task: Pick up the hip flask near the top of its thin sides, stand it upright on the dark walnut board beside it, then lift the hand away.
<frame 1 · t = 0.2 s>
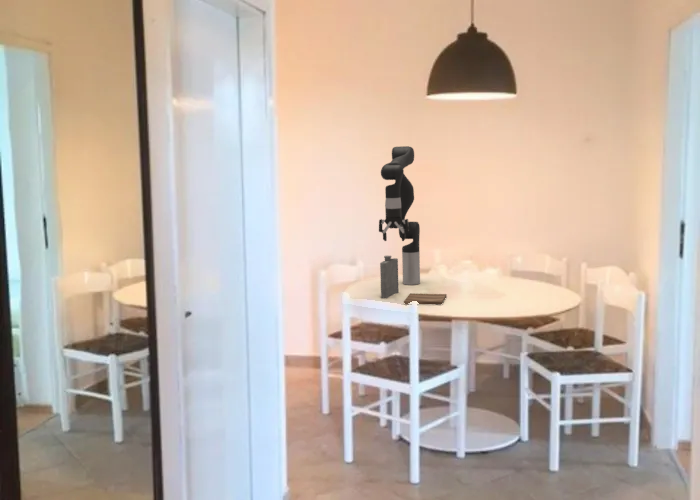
hand: (394, 240, 381), 29 cm above the table, fingers open, 8 cm apart
walnut board: (425, 300, 384), on the table
hip flask: (389, 295, 399), on the table
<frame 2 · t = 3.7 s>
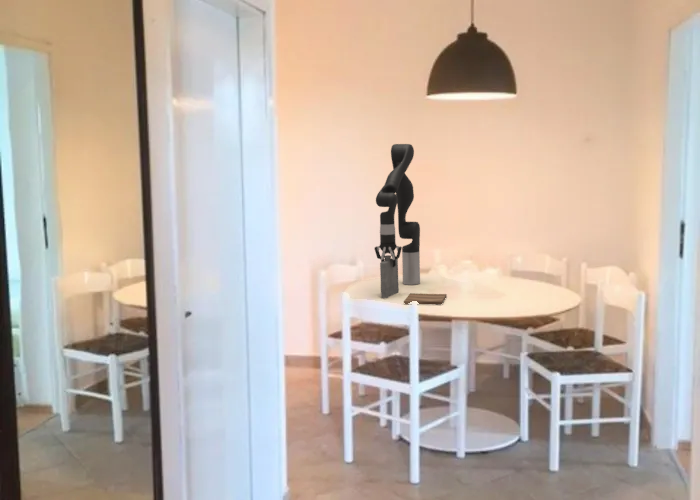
hand: (388, 266, 397), 14 cm above the table, fingers closed on hip flask, 4 cm apart
hip flask: (389, 295, 399), on the table, touching gripper
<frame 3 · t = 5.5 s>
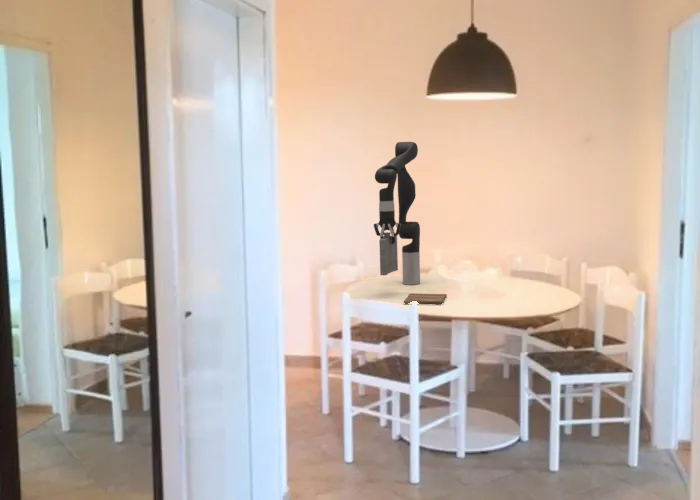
hand: (387, 243, 395), 26 cm above the table, fingers closed on hip flask, 4 cm apart
hip flask: (388, 272, 398), point 11 cm above the table, touching gripper
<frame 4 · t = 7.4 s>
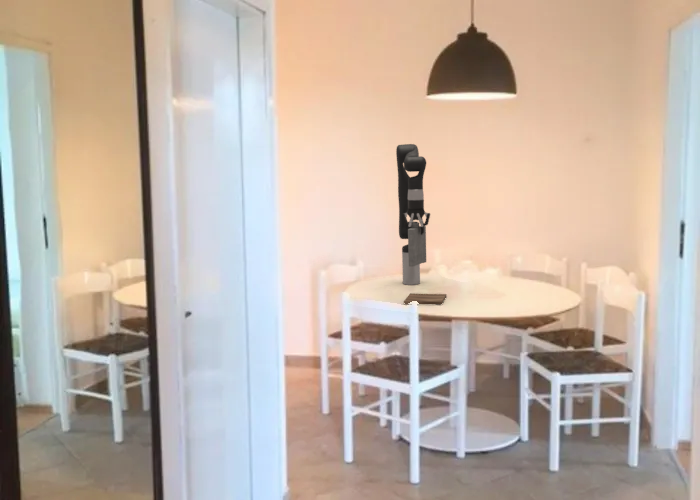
hand: (416, 234, 382), 32 cm above the table, fingers closed on hip flask, 4 cm apart
hip flask: (416, 264, 384), point 17 cm above the table, touching gripper
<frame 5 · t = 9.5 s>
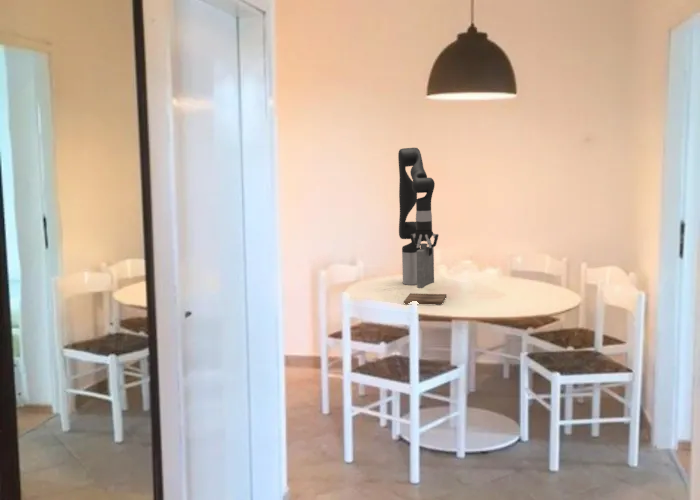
hand: (424, 255, 381), 22 cm above the table, fingers closed on hip flask, 4 cm apart
hip flask: (424, 285, 383), point 7 cm above the table, touching gripper
when the fingers open (17 cm above the table, at t = 11.3 s): hip flask drops 1 cm, resting on walnut board.
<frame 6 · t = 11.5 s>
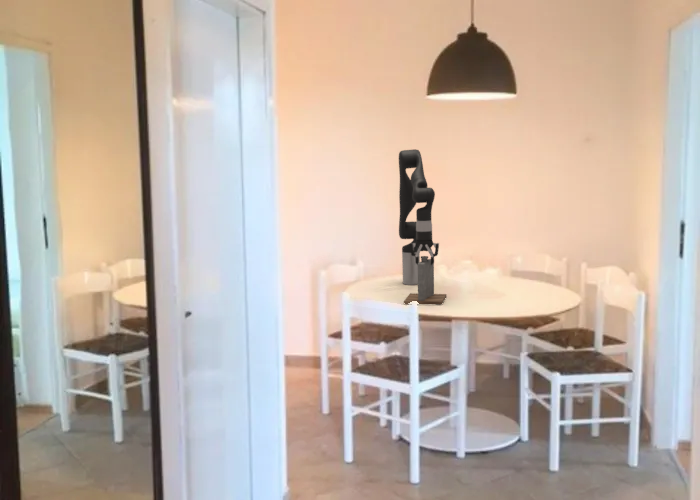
hand: (424, 264, 381), 18 cm above the table, fingers open, 6 cm apart
hip flask: (425, 297, 384), point 1 cm above the table, touching walnut board
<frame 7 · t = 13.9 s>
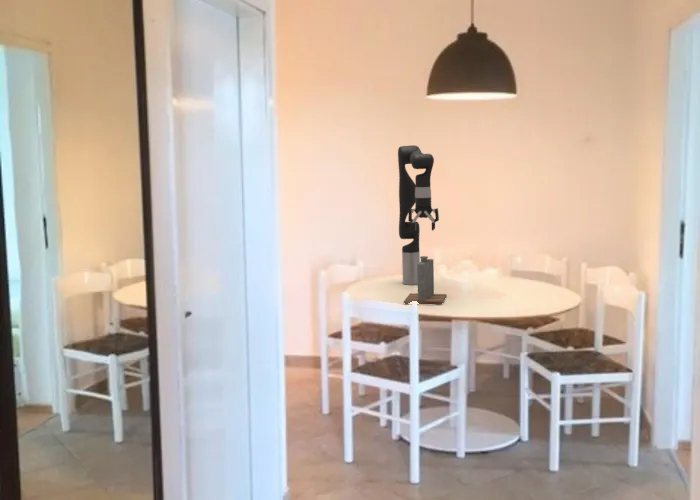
hand: (423, 230, 380), 34 cm above the table, fingers open, 8 cm apart
nothing on the table moved.
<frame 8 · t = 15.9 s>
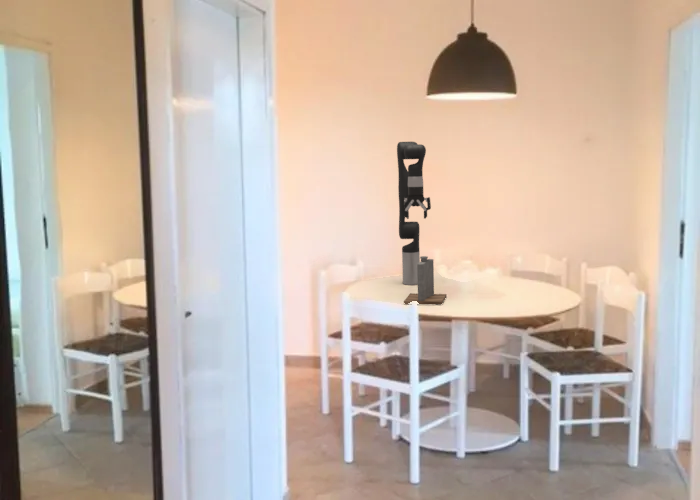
hand: (416, 218, 393), 38 cm above the table, fingers open, 8 cm apart
nothing on the table moved.
at the end: hip flask inside the target area on the walnut board (0.1 cm from its centre), point 1.3 cm above the walnut board's base; hip flask tilted 0°; the gripper is holding nothing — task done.
